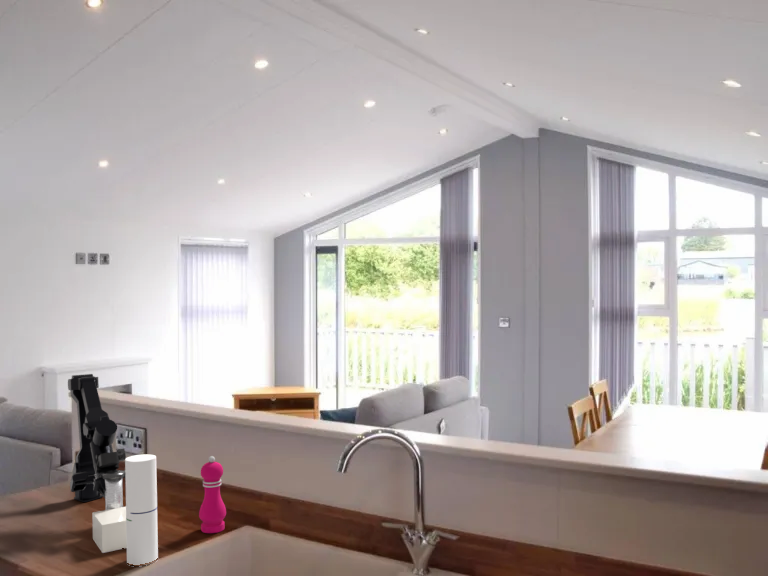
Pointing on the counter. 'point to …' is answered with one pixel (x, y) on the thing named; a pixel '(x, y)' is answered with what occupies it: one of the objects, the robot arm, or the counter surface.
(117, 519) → the block
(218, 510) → the pepper mill
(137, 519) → the cylindrical container
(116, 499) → the silver jar
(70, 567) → the counter surface
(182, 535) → the counter surface
